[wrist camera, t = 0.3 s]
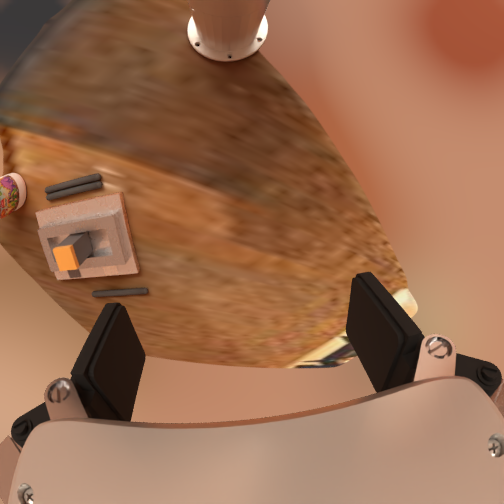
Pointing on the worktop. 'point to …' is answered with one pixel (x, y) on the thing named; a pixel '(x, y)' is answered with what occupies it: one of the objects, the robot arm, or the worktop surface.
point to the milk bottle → (11, 193)
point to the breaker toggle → (73, 251)
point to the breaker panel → (91, 235)
